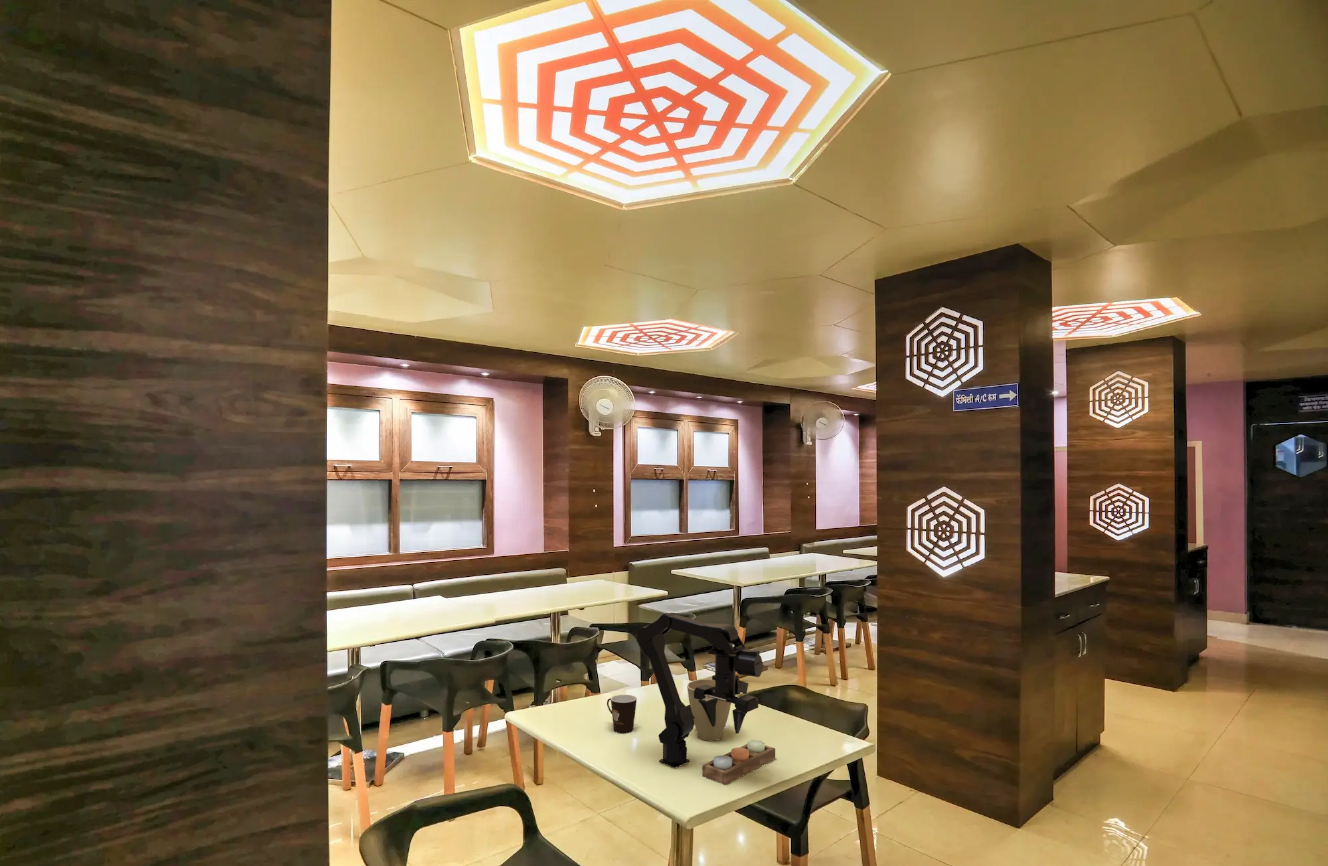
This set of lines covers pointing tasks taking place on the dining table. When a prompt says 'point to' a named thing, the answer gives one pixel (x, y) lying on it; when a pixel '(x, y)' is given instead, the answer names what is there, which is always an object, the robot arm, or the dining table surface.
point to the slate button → (723, 762)
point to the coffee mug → (623, 712)
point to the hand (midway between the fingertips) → (725, 729)
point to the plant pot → (701, 717)
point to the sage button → (756, 746)
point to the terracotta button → (740, 754)
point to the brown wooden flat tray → (738, 766)
